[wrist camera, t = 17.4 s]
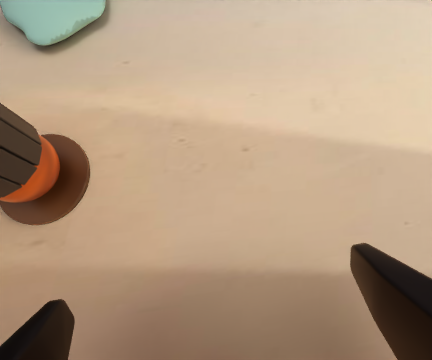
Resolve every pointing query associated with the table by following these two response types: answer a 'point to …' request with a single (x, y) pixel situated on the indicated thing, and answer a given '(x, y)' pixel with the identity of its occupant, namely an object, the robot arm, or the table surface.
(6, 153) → the tube
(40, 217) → the ball stand
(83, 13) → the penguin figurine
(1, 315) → the table surface
